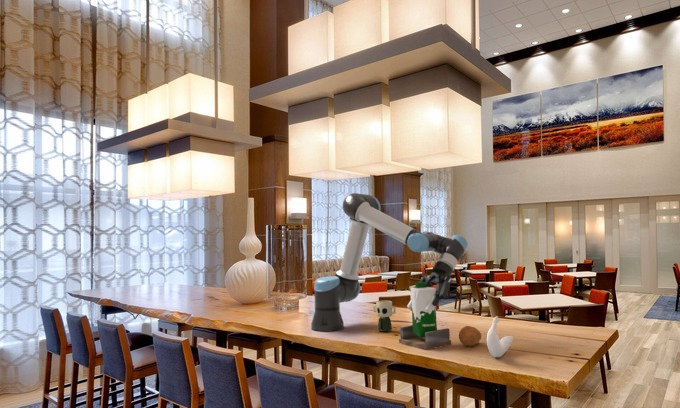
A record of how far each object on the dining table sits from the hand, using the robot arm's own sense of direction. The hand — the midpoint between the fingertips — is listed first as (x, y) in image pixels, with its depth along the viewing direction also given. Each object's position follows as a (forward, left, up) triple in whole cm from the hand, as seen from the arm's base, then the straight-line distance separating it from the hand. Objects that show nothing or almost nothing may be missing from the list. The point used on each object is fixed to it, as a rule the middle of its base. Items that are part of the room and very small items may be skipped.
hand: (418, 310), depth 167 cm
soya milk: (0, +3, -10) cm, 10 cm away
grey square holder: (0, +3, -13) cm, 14 cm away
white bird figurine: (+29, +9, -13) cm, 33 cm away
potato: (+12, +15, -13) cm, 23 cm away
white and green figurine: (-28, +7, -13) cm, 32 cm away
